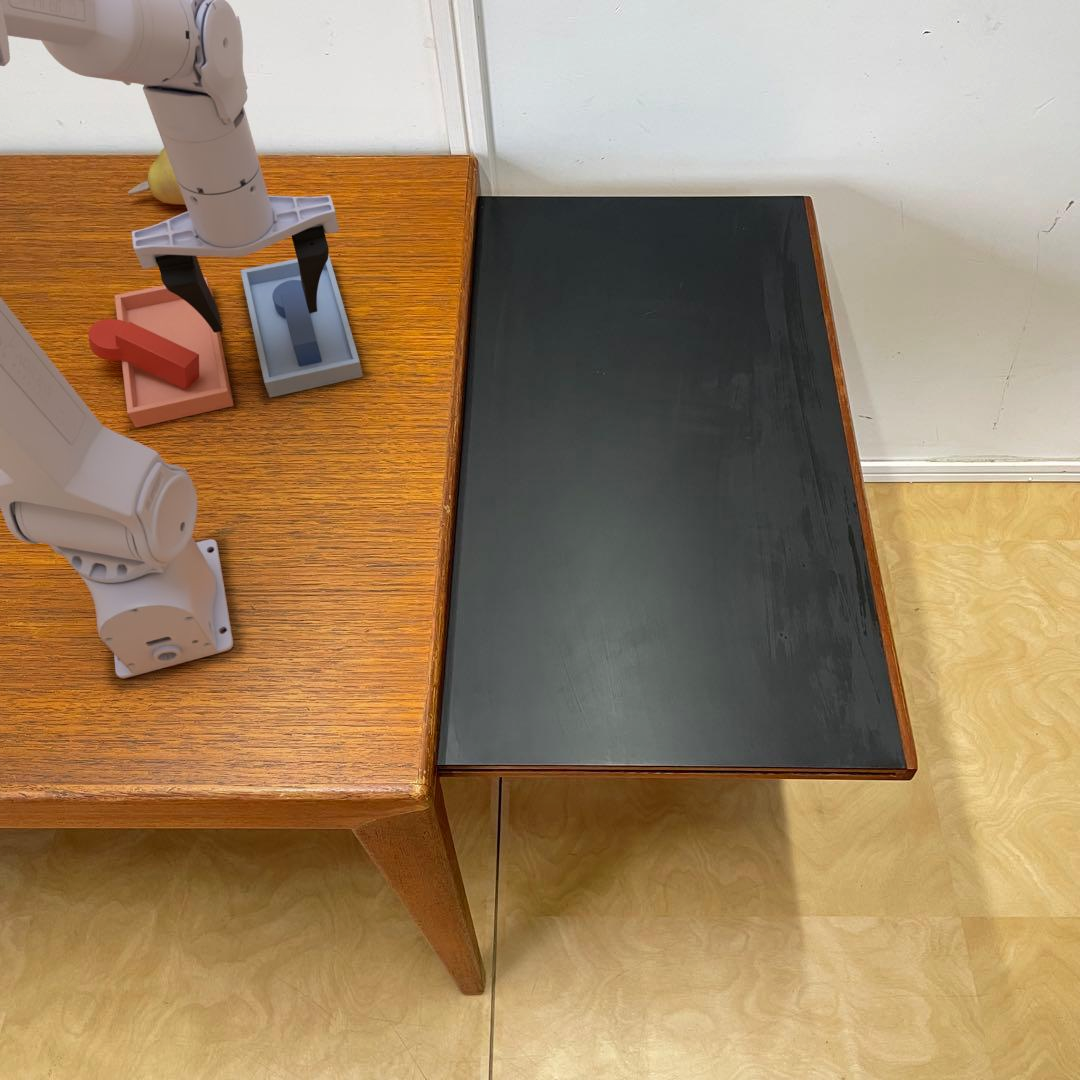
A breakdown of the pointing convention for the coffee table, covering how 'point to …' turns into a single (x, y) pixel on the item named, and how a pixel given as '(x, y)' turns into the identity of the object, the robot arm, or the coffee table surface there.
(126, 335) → the red spoon
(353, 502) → the coffee table surface
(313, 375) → the blue tray
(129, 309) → the rose tray
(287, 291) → the blue spoon
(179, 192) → the fruit
